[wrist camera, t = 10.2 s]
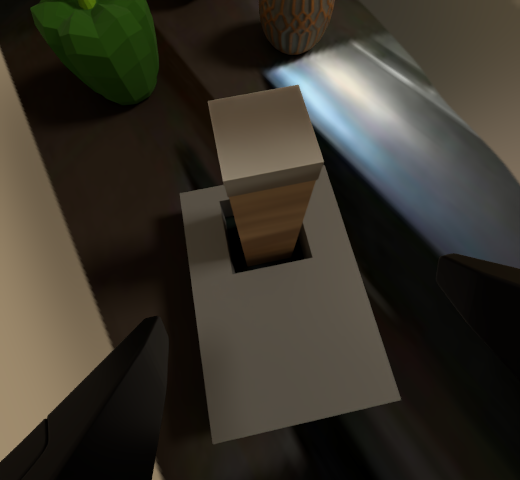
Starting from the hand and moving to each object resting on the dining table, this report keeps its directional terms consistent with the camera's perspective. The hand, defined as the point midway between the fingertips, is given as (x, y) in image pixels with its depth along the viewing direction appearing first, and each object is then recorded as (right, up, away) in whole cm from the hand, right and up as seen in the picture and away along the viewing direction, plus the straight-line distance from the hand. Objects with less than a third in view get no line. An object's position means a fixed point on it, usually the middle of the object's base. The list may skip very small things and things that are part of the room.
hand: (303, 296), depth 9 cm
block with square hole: (0, -2, +13) cm, 13 cm away
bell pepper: (-14, +17, +20) cm, 30 cm away
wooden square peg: (-1, +2, +14) cm, 14 cm away
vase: (+2, +23, +21) cm, 31 cm away
